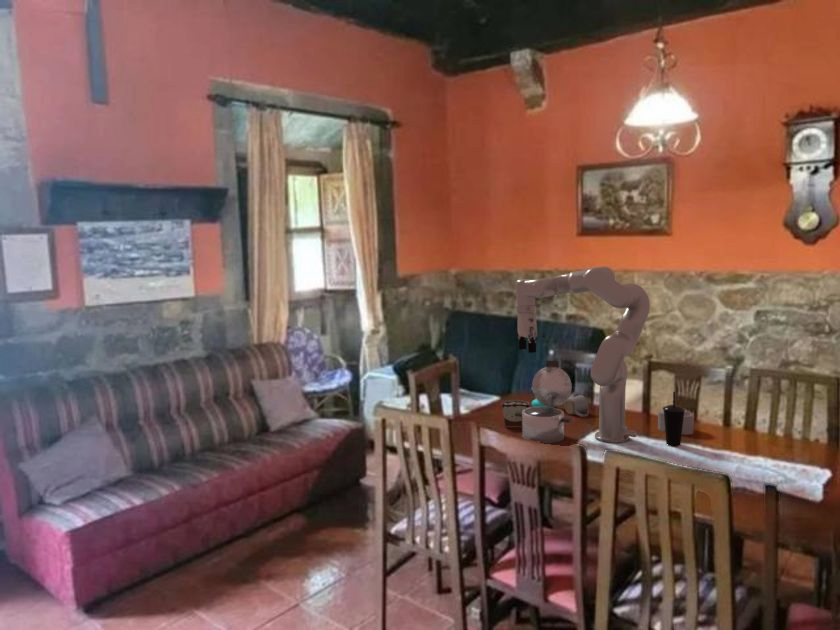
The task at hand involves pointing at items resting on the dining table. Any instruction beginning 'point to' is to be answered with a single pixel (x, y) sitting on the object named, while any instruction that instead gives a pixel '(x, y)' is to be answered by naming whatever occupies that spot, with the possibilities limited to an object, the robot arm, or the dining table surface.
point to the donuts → (537, 403)
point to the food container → (513, 412)
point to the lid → (551, 385)
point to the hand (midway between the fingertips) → (527, 350)
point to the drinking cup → (673, 423)
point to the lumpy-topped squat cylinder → (687, 422)
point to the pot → (543, 424)
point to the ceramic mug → (577, 406)
